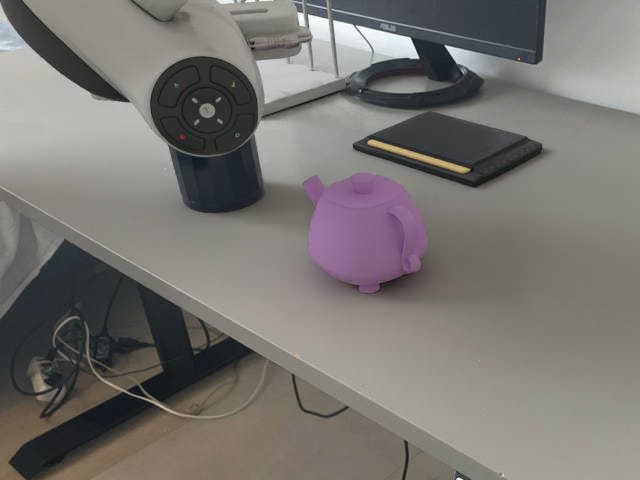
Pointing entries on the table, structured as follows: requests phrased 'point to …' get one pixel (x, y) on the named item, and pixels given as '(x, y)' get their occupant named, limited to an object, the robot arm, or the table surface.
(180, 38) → the robot arm
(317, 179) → the teapot
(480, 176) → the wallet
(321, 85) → the file sorter
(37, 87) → the table surface
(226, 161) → the navy pen holder
